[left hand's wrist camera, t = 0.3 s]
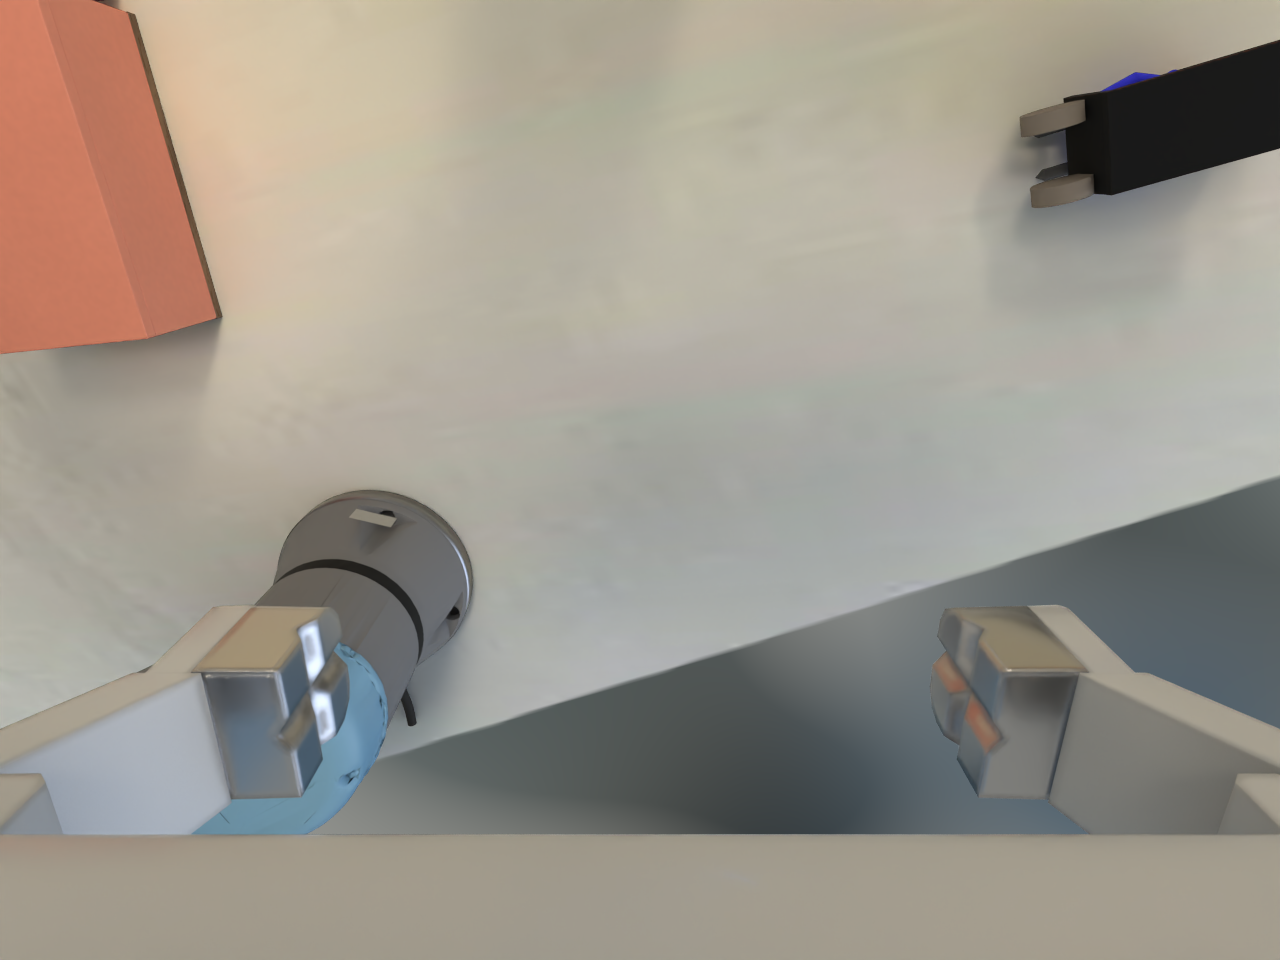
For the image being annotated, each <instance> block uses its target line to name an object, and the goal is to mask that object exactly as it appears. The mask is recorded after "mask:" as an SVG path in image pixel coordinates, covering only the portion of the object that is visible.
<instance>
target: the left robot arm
mask: <svg viewBox="0 0 1280 960" xmlns="http://www.w3.org/2000/svg"><path fill="white" fill-rule="evenodd" d="M342 637H343V635H342V629H341V624H340V619H339V615H338V614H337V612H336V611H335V610H334V609H333V608H332V607H295V606H255V605H237V606H219V607H213V608H212V609H211V610H210V611H209V612H208V613H207V614H206V615H205V616H204V617H203V618H202V619H201V620H199V621H198V622H197V623H196V624H195V625H194V626H193V627H192V628H191V629H190V630H189V631H188V632H187V633H186V634H185V635H184V636H183V637H182V638H181V639H180V640H179V641H178V642H177V643H176V644H175V645H173V646H172V647H171V648H170V649H169V650H168V651H167V652H166V653H165V654H164V655H163V656H162V657H161V658H160V659H159V660H158V661H157V662H156V663H155V664H154V665H153V666H152V667H151V668H150V669H149V670H148V671H146V672H145V673H131V674H129V675H126V676H124V677H122V678H119V679H117V680H115V681H112V682H110V683H108V684H105V685H103V686H100V687H98V688H96V689H93V690H91V691H89V692H86V693H84V694H82V695H79V696H77V697H75V698H72V699H70V700H68V701H65V702H63V703H60V704H58V705H56V706H53V707H51V708H49V709H46V710H44V711H42V712H39V713H37V714H35V715H32V716H30V717H27V718H25V719H23V720H20V721H18V722H16V723H13V724H11V725H9V726H6V727H4V728H2V729H0V960H1280V729H1278V728H1276V727H1273V726H1271V725H1269V724H1266V723H1264V722H1262V721H1259V720H1257V719H1255V718H1252V717H1250V716H1248V715H1245V714H1243V713H1240V712H1238V711H1236V710H1233V709H1231V708H1229V707H1226V706H1224V705H1222V704H1219V703H1217V702H1215V701H1212V700H1210V699H1208V698H1205V697H1203V696H1200V695H1198V694H1196V693H1193V692H1191V691H1189V690H1186V689H1184V688H1182V687H1179V686H1177V685H1175V684H1172V683H1170V682H1168V681H1165V680H1163V679H1161V678H1158V677H1156V676H1154V675H1151V674H1149V673H1135V672H1134V671H1133V670H1132V669H1130V668H1129V667H1128V666H1127V665H1126V664H1125V663H1124V662H1123V661H1122V660H1121V659H1120V658H1119V657H1118V656H1117V655H1116V654H1115V653H1114V652H1113V651H1112V650H1111V649H1110V648H1109V647H1108V646H1107V645H1106V644H1105V643H1104V642H1103V641H1101V640H1100V639H1099V638H1098V637H1097V636H1096V635H1095V634H1094V633H1093V632H1092V631H1091V630H1090V629H1089V628H1088V627H1087V626H1086V625H1085V624H1084V623H1083V622H1082V621H1081V620H1080V619H1079V618H1078V617H1077V616H1076V615H1075V614H1073V613H1072V612H1071V611H1070V610H1069V609H1068V608H1066V607H1063V606H1060V605H1044V606H1004V607H963V608H948V609H945V610H944V612H943V614H942V617H941V619H940V623H939V629H938V634H937V637H938V639H939V640H940V642H941V643H942V645H943V646H944V648H945V649H946V652H945V653H944V654H943V655H942V656H941V657H940V658H939V659H938V660H937V661H936V662H935V663H934V664H933V666H932V674H931V682H930V693H931V704H932V709H933V713H934V716H935V719H936V722H937V724H938V726H939V728H940V730H941V732H942V734H943V735H944V736H945V737H947V738H948V739H950V740H951V741H953V742H955V743H956V744H958V745H959V750H958V756H957V761H958V762H959V764H960V766H961V768H962V769H963V771H964V773H965V775H966V776H967V778H968V780H969V782H970V784H971V785H972V787H973V789H974V791H975V792H976V794H977V796H978V797H979V798H1011V799H1047V800H1049V801H1048V803H1049V804H1051V805H1052V806H1053V807H1055V808H1056V809H1057V810H1058V811H1060V812H1061V813H1062V814H1064V815H1065V816H1066V817H1068V818H1069V819H1070V820H1072V821H1073V822H1074V823H1075V824H1077V825H1078V826H1079V827H1081V828H1082V829H1083V830H1085V831H1086V832H1087V833H1089V834H192V833H193V832H194V831H196V830H197V829H198V828H200V827H201V826H202V825H203V824H205V823H206V822H207V821H209V820H210V819H211V818H213V817H214V816H215V815H217V814H218V813H219V812H220V811H222V810H223V809H224V808H226V807H227V806H228V805H230V804H231V802H232V801H231V800H233V799H268V798H302V796H303V794H304V792H305V791H306V789H307V787H308V785H309V784H310V782H311V780H312V778H313V777H314V775H315V773H316V771H317V769H318V768H319V766H320V764H321V762H322V761H323V756H322V750H321V745H322V744H324V743H326V742H327V741H329V740H330V739H332V738H333V737H335V736H336V735H337V734H338V732H339V730H340V728H341V726H342V724H343V722H344V720H345V716H346V712H347V707H348V703H349V699H350V679H349V672H348V665H347V664H346V663H345V662H344V661H343V660H342V659H341V658H340V657H339V656H338V655H337V654H336V653H335V652H334V649H335V648H336V646H337V645H338V643H339V642H340V640H341V639H342Z"/></svg>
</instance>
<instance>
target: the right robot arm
mask: <svg viewBox="0 0 1280 960" xmlns="http://www.w3.org/2000/svg"><path fill="white" fill-rule="evenodd" d="M472 586H473V581H472V570H471V565H470V561H469V558H468V555H467V553H466V550H465V548H464V546H463V544H462V543H461V541H460V539H459V538H458V536H457V535H456V533H455V532H454V531H453V530H452V528H451V527H450V526H449V525H448V524H447V523H446V522H445V521H444V520H443V519H442V518H441V517H440V516H438V515H437V514H436V513H435V512H433V511H432V510H430V509H429V508H427V507H426V506H424V505H422V504H420V503H418V502H417V501H414V500H412V499H410V498H407V497H404V496H401V495H398V494H394V493H390V492H384V491H373V490H366V491H354V492H349V493H344V494H341V495H338V496H335V497H332V498H330V499H328V500H326V501H324V502H322V503H321V504H319V505H318V506H316V507H315V508H313V509H312V510H311V511H310V512H309V513H308V514H307V515H306V516H305V517H304V518H303V519H302V520H301V521H300V522H298V523H297V525H296V526H295V527H294V528H293V529H292V531H291V532H290V534H289V535H288V537H287V539H286V541H285V543H284V545H283V548H282V550H281V553H280V557H279V561H278V568H277V572H276V576H275V580H274V584H273V586H272V587H271V588H270V589H269V590H268V591H267V592H266V593H265V594H264V595H263V596H262V597H261V599H260V600H259V601H258V602H257V603H256V604H255V606H295V607H332V608H333V609H334V610H335V611H336V612H337V614H338V615H339V619H340V624H341V629H342V635H343V637H342V639H341V640H340V642H339V643H338V645H337V646H336V648H335V649H334V652H335V653H336V654H337V655H338V656H339V657H340V658H341V659H342V660H343V661H344V662H345V663H346V664H347V665H348V672H349V679H350V699H349V703H348V707H347V712H346V716H345V720H344V722H343V724H342V726H341V728H340V730H339V732H338V734H337V735H336V736H335V737H333V738H332V739H330V740H329V741H327V742H326V743H324V744H322V745H321V750H322V756H323V761H322V762H321V764H320V766H319V768H318V769H317V771H316V773H315V775H314V777H313V778H312V780H311V782H310V784H309V785H308V787H307V789H306V791H305V792H304V794H303V796H302V798H268V799H233V800H231V801H232V802H231V804H230V805H228V806H227V807H226V808H224V809H223V810H222V811H220V812H219V813H218V814H217V815H215V816H214V817H213V818H211V819H210V820H209V821H207V822H206V823H205V824H203V825H202V826H201V827H200V828H198V829H197V830H196V831H194V832H193V833H192V834H308V833H309V832H311V831H313V830H315V829H316V828H318V827H320V826H321V825H323V824H324V823H326V822H327V821H328V820H330V819H331V818H332V817H333V816H334V815H335V814H336V813H337V812H338V811H339V810H340V809H341V808H342V807H343V806H344V805H345V804H346V803H347V802H348V800H349V799H350V798H351V796H352V795H353V793H354V792H355V790H356V788H357V787H358V785H359V784H360V783H361V781H362V780H363V778H364V776H365V775H366V774H367V773H368V771H369V769H370V768H371V766H372V765H373V764H374V762H375V760H376V758H377V756H378V754H379V751H380V748H381V746H382V744H383V741H384V739H385V735H386V730H387V728H388V726H389V724H390V722H391V720H392V717H393V715H394V713H395V711H396V709H397V707H398V704H399V702H400V700H401V701H402V704H403V707H404V710H405V713H406V718H407V722H408V726H414V725H415V724H416V718H415V713H414V709H413V705H412V702H411V699H410V697H409V694H408V692H407V690H406V687H407V685H408V683H409V681H410V679H411V676H412V674H413V672H414V670H415V667H416V666H418V665H419V664H420V663H422V662H423V661H424V660H426V659H427V658H428V657H430V656H431V655H432V654H434V653H435V652H436V651H438V650H439V649H440V648H441V647H443V646H444V645H445V644H446V643H447V642H448V641H449V640H450V639H451V638H452V636H453V635H454V634H455V633H456V631H457V630H458V628H459V626H460V625H461V622H462V620H463V618H464V616H465V613H466V611H467V609H468V606H469V603H470V599H471V595H472ZM152 666H153V665H152ZM152 666H150V667H148V668H146V669H143V670H141V671H139V672H137V673H145V672H146V671H148V670H149V669H150V668H151V667H152Z"/></svg>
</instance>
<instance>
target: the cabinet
mask: <svg viewBox="0 0 1280 960" xmlns="http://www.w3.org/2000/svg"><path fill="white" fill-rule="evenodd" d="M220 317H222V314H221V310H220V307H219V304H218V300H217V297H216V293H215V290H214V286H213V283H212V279H211V276H210V272H209V269H208V266H207V262H206V259H205V255H204V252H203V248H202V245H201V241H200V238H199V234H198V231H197V228H196V224H195V221H194V217H193V214H192V210H191V207H190V203H189V200H188V196H187V193H186V190H185V186H184V183H183V179H182V176H181V172H180V169H179V165H178V162H177V159H176V155H175V152H174V148H173V145H172V141H171V138H170V134H169V131H168V127H167V124H166V121H165V117H164V114H163V110H162V107H161V103H160V100H159V96H158V93H157V89H156V86H155V83H154V79H153V76H152V72H151V69H150V65H149V62H148V58H147V55H146V51H145V48H144V45H143V41H142V38H141V34H140V31H139V27H138V24H137V20H136V17H135V14H132V13H129V12H124V11H122V10H119V9H116V8H113V7H110V6H107V5H105V4H102V3H99V2H96V1H93V0H0V354H4V353H14V352H24V351H33V350H43V349H53V348H63V347H72V346H82V345H92V344H101V343H111V342H121V341H130V340H140V339H148V338H152V337H155V336H158V335H162V334H165V333H168V332H172V331H175V330H178V329H182V328H185V327H189V326H192V325H195V324H199V323H202V322H205V321H209V320H212V319H216V318H220Z"/></svg>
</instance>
